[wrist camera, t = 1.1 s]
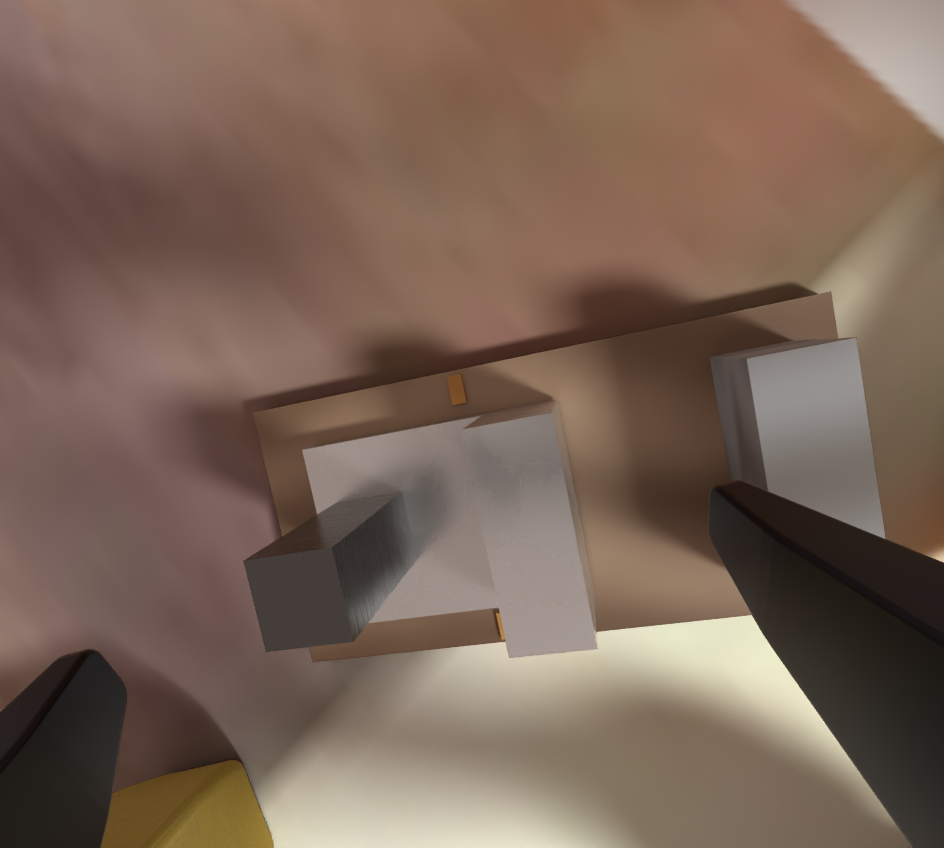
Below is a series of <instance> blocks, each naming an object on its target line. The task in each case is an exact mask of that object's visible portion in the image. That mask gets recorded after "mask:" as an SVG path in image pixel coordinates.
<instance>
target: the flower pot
mask: <svg viewBox="0 0 944 848" xmlns="http://www.w3.org/2000/svg"><path fill="white" fill-rule="evenodd" d="M101 848H274V845H273V839H272V836H271V834H270V832H269V829H268V827H267V824H266V822H265V820H264V817H263V814H262V812H261V810H260V807H259V805H258V802H257V800H256V797H255V795H254V792H253V789H252V787H251V784H250V782H249V779H248V777H247V774H246V771H245V769H244V767H243V765H242V764H241V763H240V762H239V761H236V760H228V761H225V762H221V763H217V764H212V765H207V766H203V767H199V768H194V769H190V770H185V771H180V772H175V773H170V774H166V775H163V776H159V777H156V778H153V779H149V780H146V781H143V782H140V783H137V784H134V785H132V786H129V787H126V788H124V789H121V790H119V791H116V792H114V793H113V795H112V800H111V805H110V811H109V816H108V820H107V824H106V829H105V833H104V837H103V841H102V845H101Z"/></svg>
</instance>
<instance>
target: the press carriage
mask: <svg viewBox="0 0 944 848" xmlns="http://www.w3.org/2000/svg"><path fill="white" fill-rule="evenodd" d="M302 452H303V456H304V460H305V465H306V469H307V473H308V477H309V482H310V486H311V490H312V494H313V499H314V503H315V507H316V512H317V515H316V516H314V517H313V518H311V519H309V520H308V521H306V522H305V523H303V524H301V525H300V526H298V527H297V528H295V529H293V530H292V531H290V532H289V533H287V534H285V535H284V536H282V537H281V538H279V539H277V540H276V541H274V542H273V543H271V544H270V545H268V546H266V547H265V548H263V549H262V550H260V551H258V552H257V553H255V554H254V555H252V556H250V557H249V558H247V559H246V560H244V565H245V569H246V573H247V577H248V581H249V585H250V589H251V593H252V597H253V601H254V605H255V609H256V613H257V617H258V621H259V625H260V629H261V633H262V638H263V642H264V646H265V650H266V652H269V651H278V650H287V649H296V648H304V647H313V646H322V645H331V644H340V643H348V642H354V641H355V640H356V638H357V637H358V636H359V635H360V633H361V632H362V631H363V629H364V628H365V627H366V625H367V624H368V623H374V622H382V621H391V620H399V619H407V618H415V617H424V616H432V615H440V614H449V613H457V612H465V611H474V610H482V609H490V608H499V612H500V616H501V621H502V626H503V631H504V636H505V640H506V645H507V650H508V655H509V658H514V657H523V656H533V655H543V654H553V653H563V652H573V651H582V650H592V649H598V647H597V632H596V616H595V601H594V587H593V582H592V577H591V572H590V566H589V561H588V556H587V551H586V546H585V540H584V535H583V530H582V525H581V520H580V515H579V509H578V504H577V499H576V494H575V489H574V484H573V478H572V473H571V468H570V463H569V458H568V453H567V447H566V442H565V437H564V432H563V427H562V422H561V416H560V411H559V406H558V401H557V400H553V401H548V402H542V403H537V404H532V405H527V406H522V407H516V408H511V409H506V410H501V411H495V412H490V413H485V414H480V415H475V416H469V417H464V418H459V419H454V420H448V421H443V422H438V423H433V424H428V425H422V426H417V427H412V428H407V429H401V430H396V431H391V432H386V433H381V434H375V435H370V436H365V437H360V438H354V439H349V440H344V441H339V442H334V443H328V444H323V445H318V446H313V447H309V448H306V449H303V450H302Z"/></svg>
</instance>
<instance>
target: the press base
mask: <svg viewBox="0 0 944 848" xmlns="http://www.w3.org/2000/svg"><path fill="white" fill-rule="evenodd" d="M553 400H557V401H558V406H559V411H560V416H561V422H562V427H563V432H564V437H565V442H566V447H567V453H568V458H569V463H570V468H571V473H572V478H573V484H574V489H575V494H576V499H577V504H578V509H579V515H580V520H581V525H582V530H583V535H584V540H585V546H586V551H587V556H588V561H589V566H590V572H591V577H592V582H593V587H594V601H595V616H596V632H598V631H607V630H617V629H626V628H635V627H644V626H654V625H663V624H672V623H682V622H691V621H700V620H709V619H719V618H728V617H737V616H746V615H752V614H751V612H750V611H749V609H748V607H747V605H746V603H745V602H744V600H743V598H742V596H741V594H740V593H739V591H738V589H737V587H736V585H735V584H734V582H733V580H732V578H731V576H730V574H729V573H728V571H727V569H726V567H725V565H724V564H723V562H722V560H721V558H720V556H719V555H718V553H717V551H716V549H715V547H714V546H713V544H712V541H711V539H710V536H709V531H708V515H709V494H710V490H711V488H712V487H714V486H715V485H718V484H722V483H726V482H730V481H734V480H741V481H744V482H747V483H749V484H752V485H754V486H757V487H759V488H762V489H764V490H766V491H769V492H771V493H774V494H776V495H779V496H781V497H784V498H786V499H789V500H791V501H793V502H796V503H798V504H801V505H803V506H806V507H808V508H811V509H813V510H816V511H818V512H820V513H823V514H825V515H828V516H830V517H833V518H835V519H838V520H840V521H843V522H845V523H847V524H850V525H852V526H855V527H857V528H860V529H862V530H865V531H867V532H870V533H872V534H874V535H877V536H879V537H882V538H884V539H886V538H885V531H884V524H883V517H882V511H881V504H880V497H879V490H878V483H877V476H876V469H875V462H874V456H873V449H872V442H871V435H870V428H869V421H868V414H867V407H866V401H865V394H864V387H863V380H862V373H861V366H860V359H859V352H858V346H857V339H856V338H838V336H837V329H836V322H835V316H834V309H833V302H832V295H831V292H826V293H821V294H817V295H812V296H807V297H802V298H798V299H793V300H788V301H783V302H779V303H774V304H769V305H764V306H759V307H755V308H750V309H745V310H740V311H736V312H731V313H726V314H721V315H716V316H712V317H707V318H702V319H697V320H693V321H688V322H683V323H678V324H674V325H669V326H664V327H659V328H654V329H650V330H645V331H640V332H635V333H631V334H626V335H621V336H616V337H611V338H607V339H602V340H597V341H592V342H588V343H583V344H578V345H573V346H569V347H564V348H559V349H554V350H549V351H545V352H540V353H535V354H530V355H526V356H521V357H516V358H511V359H506V360H502V361H497V362H492V363H487V364H483V365H478V366H473V367H468V368H464V369H459V370H454V371H449V372H444V373H440V374H435V375H430V376H425V377H421V378H416V379H411V380H406V381H401V382H397V383H392V384H387V385H382V386H378V387H373V388H368V389H363V390H359V391H354V392H349V393H344V394H339V395H335V396H330V397H325V398H320V399H316V400H311V401H306V402H301V403H296V404H292V405H287V406H282V407H277V408H273V409H268V410H263V411H258V412H254V413H253V417H254V422H255V426H256V430H257V434H258V438H259V442H260V446H261V451H262V455H263V459H264V463H265V467H266V471H267V475H268V480H269V484H270V488H271V492H272V496H273V500H274V504H275V509H276V513H277V517H278V521H279V525H280V529H281V533H282V536H284V535H285V534H287V533H289V532H290V531H292V530H293V529H295V528H297V527H298V526H300V525H301V524H303V523H305V522H306V521H308V520H309V519H311V518H313V517H314V516H316V515H317V512H316V507H315V503H314V499H313V494H312V490H311V486H310V482H309V477H308V473H307V469H306V465H305V460H304V456H303V452H302V450H303V449H306V448H309V447H313V446H318V445H323V444H328V443H334V442H339V441H344V440H349V439H354V438H360V437H365V436H370V435H375V434H381V433H386V432H391V431H396V430H401V429H407V428H412V427H417V426H422V425H428V424H433V423H438V422H443V421H448V420H454V419H459V418H464V417H469V416H475V415H480V414H485V413H490V412H495V411H501V410H506V409H511V408H516V407H522V406H527V405H532V404H537V403H542V402H548V401H553ZM505 641H506V640H505V636H504V631H503V626H502V621H501V616H500V612H499V608H490V609H482V610H474V611H465V612H457V613H449V614H440V615H432V616H424V617H415V618H407V619H399V620H391V621H382V622H374V623H368V624H367V625H366V627H365V628H364V629H363V631H362V632H361V633H360V635H359V636H358V637H357V638H356V640H355V641H354V642H348V643H340V644H331V645H322V646H313V647H309V650H310V654H311V658H312V662H320V661H329V660H338V659H348V658H357V657H366V656H375V655H385V654H394V653H403V652H413V651H422V650H431V649H440V648H450V647H459V646H468V645H477V644H487V643H496V642H505Z"/></svg>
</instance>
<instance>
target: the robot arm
mask: <svg viewBox="0 0 944 848" xmlns="http://www.w3.org/2000/svg"><path fill="white" fill-rule="evenodd" d="M708 531H709V536H710V539H711V541H712V544H713V546H714V547H715V549H716V551H717V553H718V555H719V556H720V558H721V560H722V562H723V564H724V565H725V567H726V569H727V571H728V573H729V574H730V576H731V578H732V580H733V582H734V584H735V585H736V587H737V589H738V591H739V593H740V594H741V596H742V598H743V600H744V602H745V603H746V605H747V607H748V609H749V611H750V612H751V614H752V616H753V618H754V620H755V621H756V623H757V625H758V626H759V628H760V630H761V631H762V633H763V635H764V636H765V638H766V639H767V641H768V642H769V644H770V645H771V647H772V648H773V650H774V651H775V653H776V654H777V655H778V657H779V658H780V660H781V661H782V662H783V664H784V665H785V667H786V668H787V670H788V671H789V672H790V674H791V675H792V677H793V678H794V680H795V681H796V682H797V684H798V685H799V687H800V688H801V690H802V691H803V692H804V694H805V695H806V697H807V698H808V700H809V701H810V702H811V704H812V705H813V707H814V708H815V709H816V711H817V712H818V714H819V715H820V717H821V718H822V719H823V721H824V722H825V724H826V725H827V727H828V728H829V729H830V731H831V732H832V734H833V735H834V737H835V738H836V739H837V741H838V742H839V744H840V745H841V747H842V748H843V749H844V751H845V752H846V754H847V755H848V757H849V758H850V759H851V761H852V762H853V764H854V765H855V766H856V768H857V769H858V771H859V772H860V774H861V775H862V776H863V778H864V779H865V781H866V782H867V784H868V785H869V786H870V788H871V789H872V791H873V792H874V794H875V795H876V796H877V798H878V799H879V801H880V802H881V804H882V805H883V806H884V808H885V809H886V811H887V812H888V813H889V815H890V816H891V818H892V819H893V821H894V822H895V823H896V825H897V826H898V828H899V829H900V831H901V832H902V833H903V835H904V836H905V838H906V839H907V841H908V842H909V843H910V845H911V846H912V848H944V563H943V562H941V561H938V560H936V559H933V558H931V557H928V556H926V555H924V554H921V553H919V552H916V551H914V550H911V549H909V548H906V547H904V546H901V545H899V544H897V543H894V542H892V541H889V540H887V539H884V538H882V537H879V536H877V535H874V534H872V533H870V532H867V531H865V530H862V529H860V528H857V527H855V526H852V525H850V524H847V523H845V522H843V521H840V520H838V519H835V518H833V517H830V516H828V515H825V514H823V513H820V512H818V511H816V510H813V509H811V508H808V507H806V506H803V505H801V504H798V503H796V502H793V501H791V500H789V499H786V498H784V497H781V496H779V495H776V494H774V493H771V492H769V491H766V490H764V489H762V488H759V487H757V486H754V485H752V484H749V483H747V482H744V481H741V480H734V481H730V482H726V483H722V484H718V485H715V486H714V487H712V488H711V490H710V494H709V515H708ZM126 704H127V692H126V687H125V685H124V683H123V681H122V680H121V678H120V677H119V676H118V675H117V674H116V672H115V671H114V670H113V669H112V667H111V666H110V665H109V664H108V662H107V661H106V660H105V659H104V657H103V656H102V655H101V654H100V653H99V652H98V651H96V650H93V649H86V650H82V651H79V652H75V653H71V654H67V655H64V656H62V657H60V658H58V659H57V660H56V661H55V662H53V663H52V664H51V665H50V666H49V667H48V668H47V669H46V670H45V671H44V672H43V673H42V674H41V675H40V676H39V677H37V678H36V679H35V680H34V681H33V682H32V683H31V684H30V685H29V686H28V687H27V688H26V689H25V690H24V691H22V692H21V693H20V694H19V695H18V696H17V697H16V698H15V699H14V700H13V701H12V702H11V703H10V704H9V705H7V706H6V707H5V708H4V709H3V710H2V711H1V712H0V848H101V845H102V841H103V837H104V833H105V829H106V824H107V820H108V816H109V811H110V805H111V800H112V795H113V788H114V782H115V775H116V769H117V762H118V756H119V749H120V743H121V736H122V730H123V723H124V717H125V710H126Z"/></svg>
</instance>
